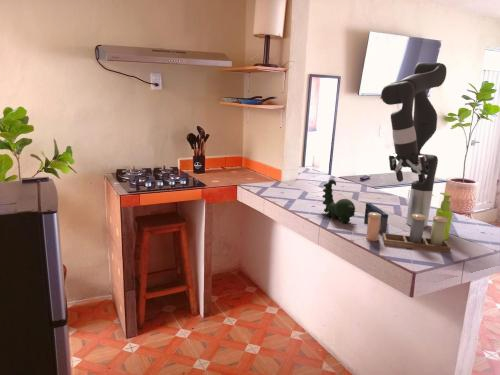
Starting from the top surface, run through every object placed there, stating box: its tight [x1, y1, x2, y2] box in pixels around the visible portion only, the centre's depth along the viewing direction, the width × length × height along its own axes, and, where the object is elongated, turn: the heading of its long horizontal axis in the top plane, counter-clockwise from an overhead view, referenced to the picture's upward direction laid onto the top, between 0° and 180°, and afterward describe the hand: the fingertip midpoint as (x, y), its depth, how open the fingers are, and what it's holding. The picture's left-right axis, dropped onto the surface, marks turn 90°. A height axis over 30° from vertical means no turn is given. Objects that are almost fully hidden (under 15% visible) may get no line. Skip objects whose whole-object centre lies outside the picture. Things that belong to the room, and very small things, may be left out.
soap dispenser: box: [435, 192, 454, 241], centre depth 158 cm, size 6×7×20 cm
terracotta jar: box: [365, 212, 381, 242], centre depth 154 cm, size 5×5×12 cm
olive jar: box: [429, 215, 447, 246], centre depth 147 cm, size 5×5×12 cm
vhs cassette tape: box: [363, 202, 389, 235], centre depth 169 cm, size 18×3×10 cm, turn 4°
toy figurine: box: [321, 178, 356, 224], centre depth 182 cm, size 9×19×25 cm
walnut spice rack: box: [381, 232, 452, 254], centre depth 150 cm, size 8×24×4 cm, turn 76°
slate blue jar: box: [408, 214, 426, 244], centre depth 149 cm, size 5×5×12 cm
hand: (411, 182), depth 139 cm, fingers open, 8 cm apart
